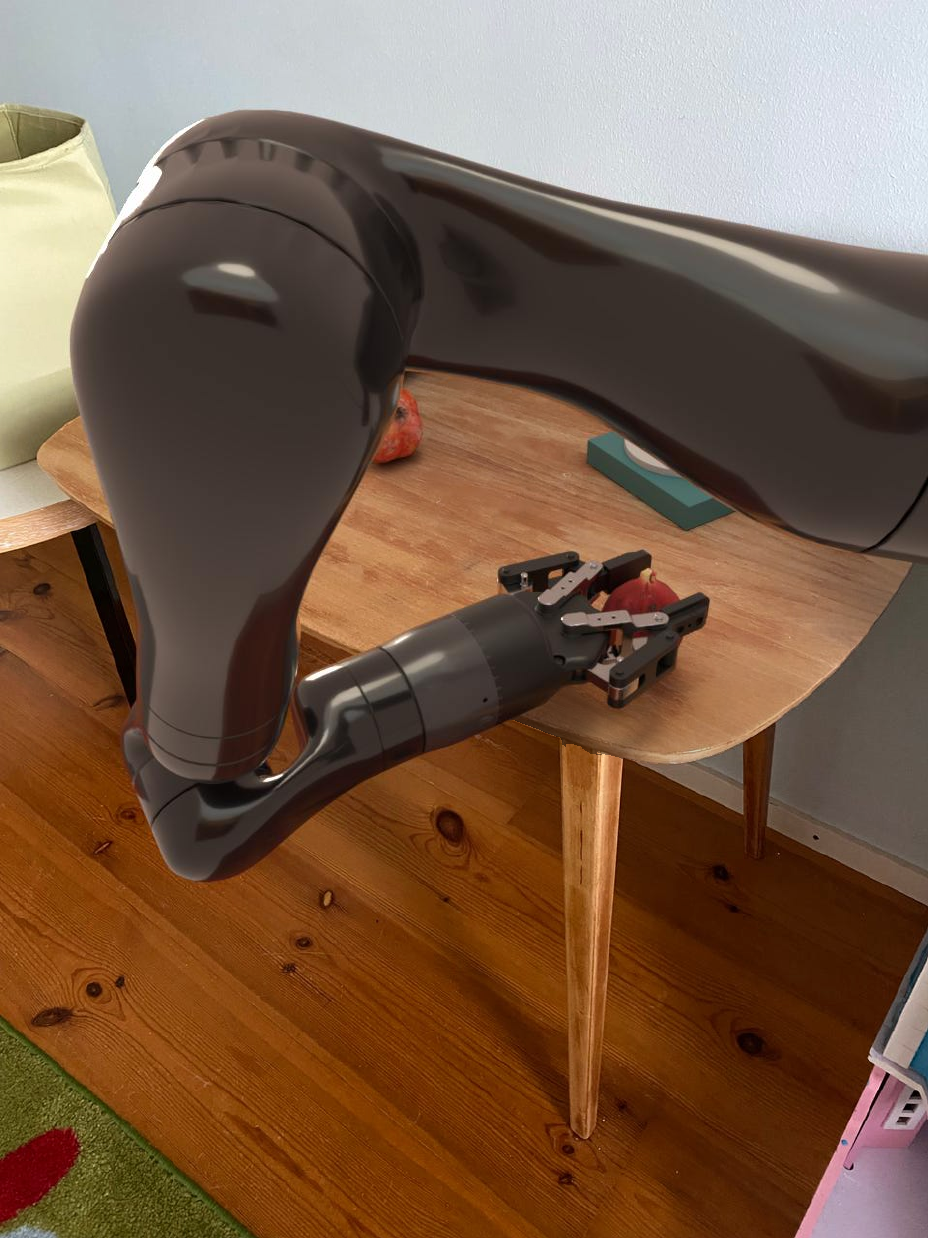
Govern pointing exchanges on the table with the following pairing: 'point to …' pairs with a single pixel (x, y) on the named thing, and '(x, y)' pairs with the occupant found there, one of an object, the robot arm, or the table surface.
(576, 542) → the table surface
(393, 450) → the pomegranate
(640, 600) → the onion
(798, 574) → the table surface
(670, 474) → the scale
